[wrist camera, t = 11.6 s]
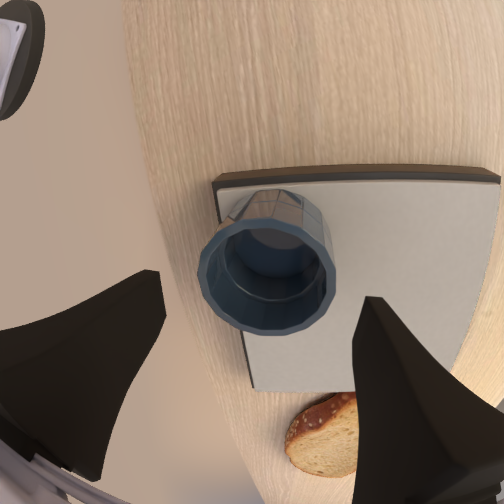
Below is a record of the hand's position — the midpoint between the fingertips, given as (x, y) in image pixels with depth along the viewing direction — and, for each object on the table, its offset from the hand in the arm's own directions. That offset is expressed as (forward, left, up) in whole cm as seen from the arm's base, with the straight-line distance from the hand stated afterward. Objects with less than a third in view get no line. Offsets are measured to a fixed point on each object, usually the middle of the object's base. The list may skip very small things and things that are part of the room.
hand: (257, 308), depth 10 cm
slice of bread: (+21, -18, -9) cm, 29 cm away
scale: (+8, -1, -9) cm, 12 cm away
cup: (0, 0, -6) cm, 6 cm away
